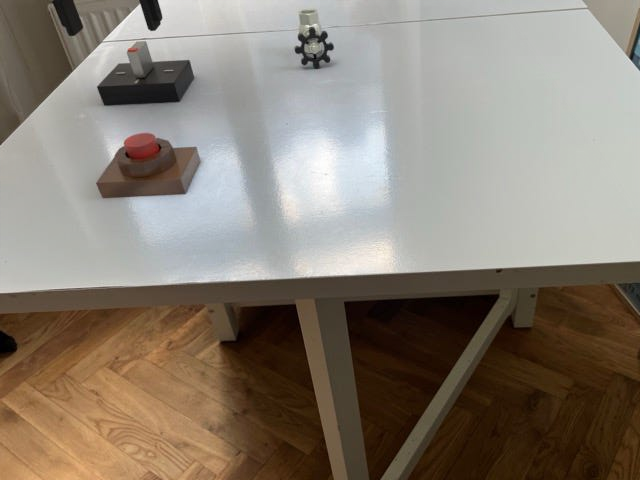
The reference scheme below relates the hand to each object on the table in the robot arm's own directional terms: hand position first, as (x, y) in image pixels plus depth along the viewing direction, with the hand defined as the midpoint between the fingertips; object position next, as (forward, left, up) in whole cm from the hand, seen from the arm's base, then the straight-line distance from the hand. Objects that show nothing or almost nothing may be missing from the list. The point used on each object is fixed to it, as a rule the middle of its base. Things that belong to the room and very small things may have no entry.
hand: (115, 30), depth 68 cm
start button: (+3, -11, -11) cm, 16 cm away
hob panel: (-6, +18, -14) cm, 23 cm away
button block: (+3, -11, -14) cm, 19 cm away
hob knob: (-6, +18, -11) cm, 22 cm away
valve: (+20, +30, -15) cm, 39 cm away
